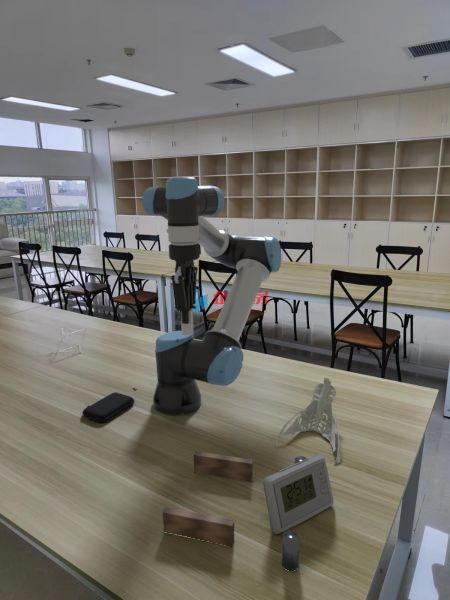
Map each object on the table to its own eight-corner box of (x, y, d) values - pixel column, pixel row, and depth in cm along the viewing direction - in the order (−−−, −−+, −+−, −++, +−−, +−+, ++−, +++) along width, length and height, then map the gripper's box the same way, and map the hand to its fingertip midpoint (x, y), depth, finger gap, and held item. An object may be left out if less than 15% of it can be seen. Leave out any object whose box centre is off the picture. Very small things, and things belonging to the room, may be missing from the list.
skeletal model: (273, 450, 107) (294, 362, 119) (280, 458, 115) (299, 375, 126) (336, 465, 101) (351, 371, 112) (339, 473, 108) (354, 384, 120)
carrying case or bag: (113, 396, 137) (77, 417, 125) (112, 388, 136) (76, 408, 124) (137, 404, 132) (102, 427, 119) (136, 396, 131) (101, 417, 119)
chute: (163, 533, 82) (162, 512, 81) (196, 468, 100) (195, 450, 99) (232, 547, 78) (232, 525, 77) (252, 478, 97) (252, 459, 96)
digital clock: (271, 539, 80) (272, 493, 77) (253, 507, 88) (253, 464, 86) (343, 517, 85) (346, 473, 82) (319, 488, 93) (321, 447, 91)
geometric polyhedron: (67, 344, 183) (64, 325, 180) (91, 345, 182) (88, 325, 179) (53, 355, 171) (50, 335, 169) (78, 356, 170) (75, 335, 167)
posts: (281, 569, 74) (281, 542, 72) (294, 477, 97) (295, 455, 95) (298, 573, 73) (299, 545, 71) (307, 479, 96) (308, 457, 95)
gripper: (179, 239, 108) (182, 325, 114) (159, 246, 96) (164, 341, 102) (206, 240, 106) (208, 326, 112) (189, 247, 94) (193, 344, 100)
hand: (187, 333), depth 107 cm, fingers closed
